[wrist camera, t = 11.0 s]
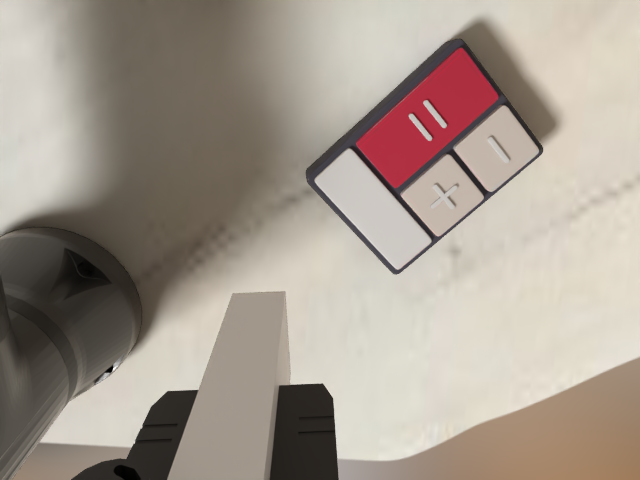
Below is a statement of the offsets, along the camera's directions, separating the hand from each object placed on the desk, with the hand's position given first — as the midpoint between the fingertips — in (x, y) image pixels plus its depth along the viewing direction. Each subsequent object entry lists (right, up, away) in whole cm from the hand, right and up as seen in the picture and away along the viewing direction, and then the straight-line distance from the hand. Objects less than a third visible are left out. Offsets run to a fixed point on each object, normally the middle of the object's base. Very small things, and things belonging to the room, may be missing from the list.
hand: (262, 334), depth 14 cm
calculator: (+10, +10, +25) cm, 29 cm away
